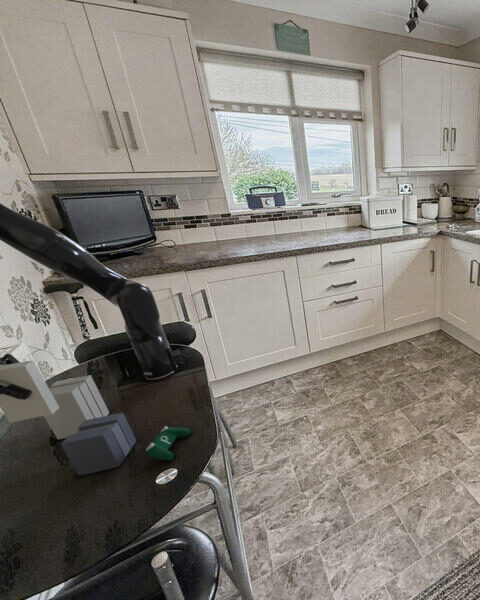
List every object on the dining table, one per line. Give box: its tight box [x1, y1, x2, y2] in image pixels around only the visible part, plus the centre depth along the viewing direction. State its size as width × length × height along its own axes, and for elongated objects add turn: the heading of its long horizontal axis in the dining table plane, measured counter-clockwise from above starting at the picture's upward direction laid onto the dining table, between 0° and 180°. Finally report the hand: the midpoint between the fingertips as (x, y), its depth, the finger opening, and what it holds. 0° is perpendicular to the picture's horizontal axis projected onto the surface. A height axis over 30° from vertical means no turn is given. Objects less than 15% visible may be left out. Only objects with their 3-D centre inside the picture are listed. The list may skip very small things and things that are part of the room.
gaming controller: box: [145, 425, 191, 461], centre depth 79 cm, size 9×4×6 cm
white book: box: [0, 360, 59, 423], centre depth 73 cm, size 2×8×13 cm, turn 105°
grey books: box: [60, 412, 137, 477], centre depth 77 cm, size 8×8×9 cm
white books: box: [43, 374, 110, 440], centre depth 88 cm, size 8×8×13 cm
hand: (33, 391), depth 73 cm, fingers closed on white book, 2 cm apart
